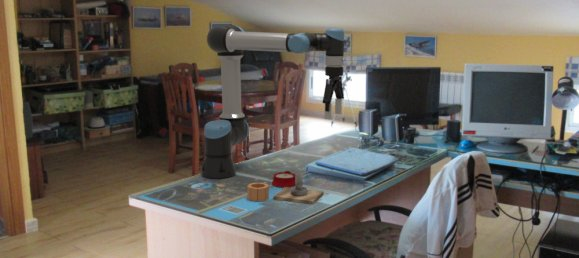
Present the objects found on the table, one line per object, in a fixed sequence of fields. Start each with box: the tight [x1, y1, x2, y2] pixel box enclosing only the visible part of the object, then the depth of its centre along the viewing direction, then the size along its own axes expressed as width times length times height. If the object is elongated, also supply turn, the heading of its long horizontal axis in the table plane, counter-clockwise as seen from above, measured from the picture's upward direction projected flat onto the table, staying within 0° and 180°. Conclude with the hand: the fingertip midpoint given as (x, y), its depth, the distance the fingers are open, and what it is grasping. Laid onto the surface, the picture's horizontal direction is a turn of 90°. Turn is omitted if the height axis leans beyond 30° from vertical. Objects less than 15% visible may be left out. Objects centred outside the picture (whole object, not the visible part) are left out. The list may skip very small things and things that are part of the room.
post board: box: [273, 172, 325, 205], centre depth 224 cm, size 16×13×9 cm
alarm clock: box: [268, 170, 296, 188], centre depth 242 cm, size 10×6×15 cm
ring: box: [246, 182, 270, 202], centre depth 222 cm, size 8×8×5 cm
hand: (333, 116), depth 244 cm, fingers open, 13 cm apart
